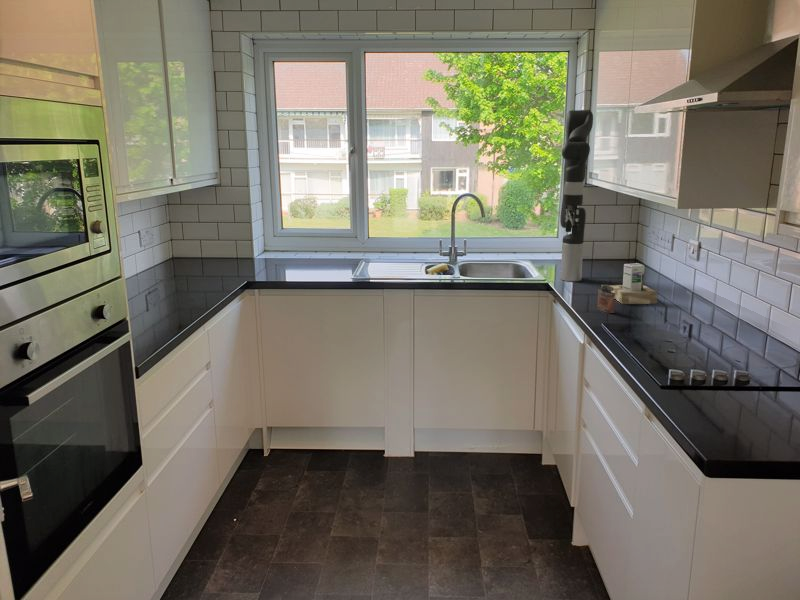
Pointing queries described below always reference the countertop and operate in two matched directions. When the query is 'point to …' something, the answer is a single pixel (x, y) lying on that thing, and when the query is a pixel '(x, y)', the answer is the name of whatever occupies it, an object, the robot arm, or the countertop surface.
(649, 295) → the collar
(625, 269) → the syrup box
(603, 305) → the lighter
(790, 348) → the countertop surface
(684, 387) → the countertop surface
